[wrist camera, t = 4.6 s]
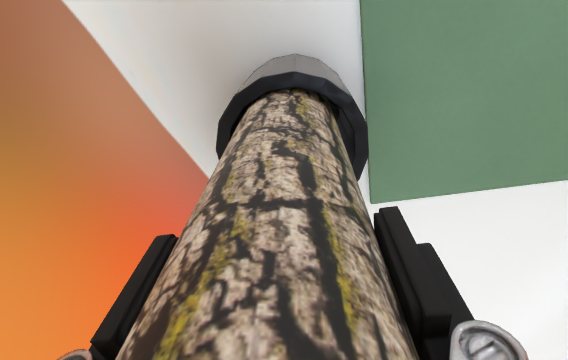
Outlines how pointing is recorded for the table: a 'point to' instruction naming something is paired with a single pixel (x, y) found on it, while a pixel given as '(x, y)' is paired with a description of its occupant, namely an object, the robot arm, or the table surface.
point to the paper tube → (276, 253)
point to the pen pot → (306, 77)
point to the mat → (464, 95)
